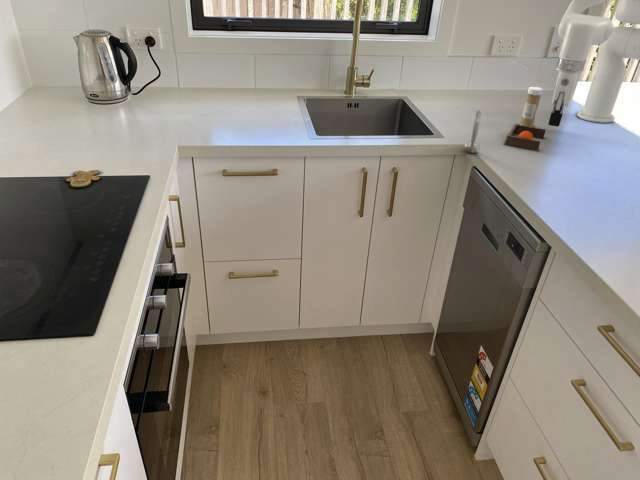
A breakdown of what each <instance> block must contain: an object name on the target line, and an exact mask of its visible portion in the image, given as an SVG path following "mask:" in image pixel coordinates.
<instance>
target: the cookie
mask: <svg viewBox="0 0 640 480" xmlns="http://www.w3.org/2000/svg"><path fill="white" fill-rule="evenodd" d="M100 173H101V170H99V169H92V170H89V171H84V170H76V171H73V172H72V174H73V175H75V176H70V177H67V178H66V179H65V181H66V182H67V183H69V184H70V187H71V188H77V189H78V188H85V187H86V188H87V187H89V186H90V185H91V184H92V181H93V182H94V181H99V180H100V179H101V177H100V176H98V174H100Z"/></svg>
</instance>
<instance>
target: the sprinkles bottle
mask: <svg viewBox="0 0 640 480" xmlns="http://www.w3.org/2000/svg"><path fill="white" fill-rule="evenodd" d="M527 89H528V90H527V96H526V100H525V103H524V108H523V111H522V115H521V120H520V123H519V125H524V126H529V127H534V124H535V120H536V117H537V114H538V109H539V104H540V101H541V96H542V95H543V92H544V91H543V90H544V89H543V88H542V87H538V86H529V87H528V88H527Z"/></svg>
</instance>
